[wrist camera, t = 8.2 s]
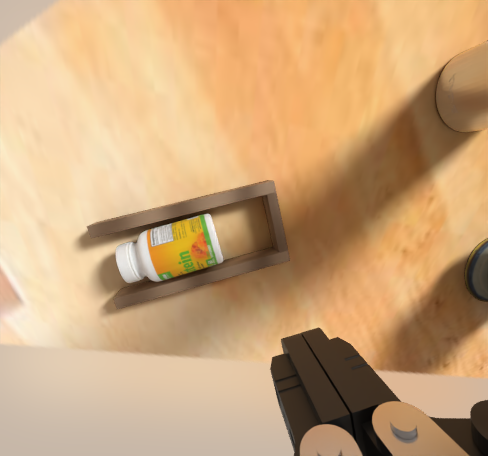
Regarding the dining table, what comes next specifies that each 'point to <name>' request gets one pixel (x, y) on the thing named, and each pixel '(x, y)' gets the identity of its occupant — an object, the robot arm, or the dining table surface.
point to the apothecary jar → (478, 272)
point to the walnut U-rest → (207, 274)
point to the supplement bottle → (170, 250)
